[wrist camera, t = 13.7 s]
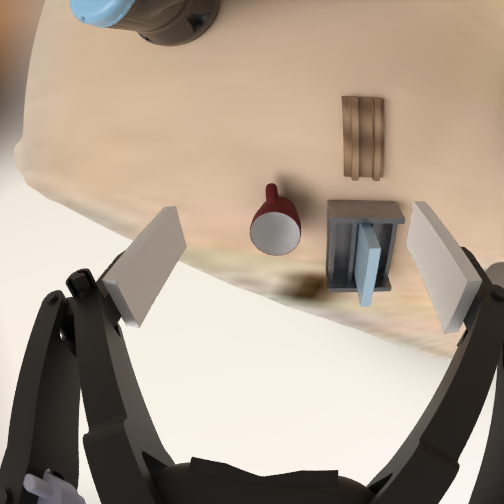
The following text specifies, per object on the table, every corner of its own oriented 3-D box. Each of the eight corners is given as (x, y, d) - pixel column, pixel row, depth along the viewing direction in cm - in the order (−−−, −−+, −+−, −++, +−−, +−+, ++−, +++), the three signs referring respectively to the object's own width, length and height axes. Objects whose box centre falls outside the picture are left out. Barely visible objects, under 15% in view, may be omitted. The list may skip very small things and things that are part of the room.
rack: (327, 200, 50) (330, 217, 44) (394, 201, 47) (405, 218, 42) (325, 270, 59) (327, 292, 53) (383, 269, 56) (390, 291, 50)
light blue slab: (357, 212, 49) (369, 248, 39) (366, 212, 49) (380, 248, 39) (352, 265, 56) (360, 306, 46) (360, 265, 55) (370, 306, 45)
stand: (341, 96, 39) (344, 97, 36) (382, 98, 37) (387, 99, 35) (343, 174, 46) (346, 180, 44) (381, 175, 45) (385, 181, 43)
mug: (247, 182, 50) (235, 204, 42) (289, 169, 48) (287, 190, 40) (266, 230, 55) (259, 260, 47) (306, 220, 53) (306, 250, 45)
